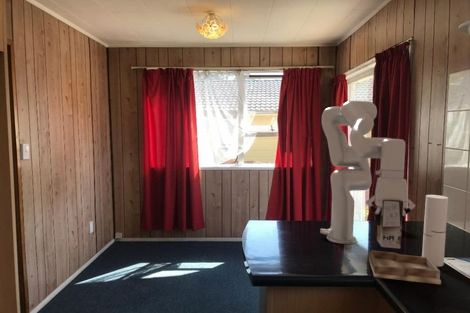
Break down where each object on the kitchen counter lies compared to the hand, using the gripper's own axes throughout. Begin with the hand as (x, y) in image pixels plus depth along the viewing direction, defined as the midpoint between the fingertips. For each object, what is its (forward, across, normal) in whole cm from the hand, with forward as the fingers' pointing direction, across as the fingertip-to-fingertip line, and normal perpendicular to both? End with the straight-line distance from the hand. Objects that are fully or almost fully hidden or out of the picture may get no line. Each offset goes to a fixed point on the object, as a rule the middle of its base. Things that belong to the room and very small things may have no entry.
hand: (389, 225), depth 123 cm
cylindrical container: (+16, +18, +12) cm, 27 cm away
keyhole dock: (+16, +5, 0) cm, 17 cm away
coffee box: (+7, 0, 0) cm, 7 cm away
